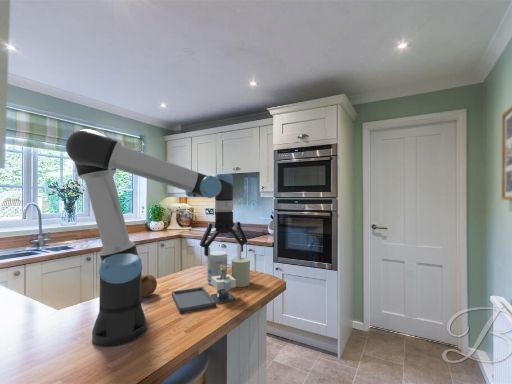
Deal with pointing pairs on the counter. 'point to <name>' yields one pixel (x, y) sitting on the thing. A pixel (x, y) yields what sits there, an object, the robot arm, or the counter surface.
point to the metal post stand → (223, 294)
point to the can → (241, 271)
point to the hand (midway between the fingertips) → (224, 261)
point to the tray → (192, 299)
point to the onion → (148, 285)
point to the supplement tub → (216, 264)
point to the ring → (223, 282)
